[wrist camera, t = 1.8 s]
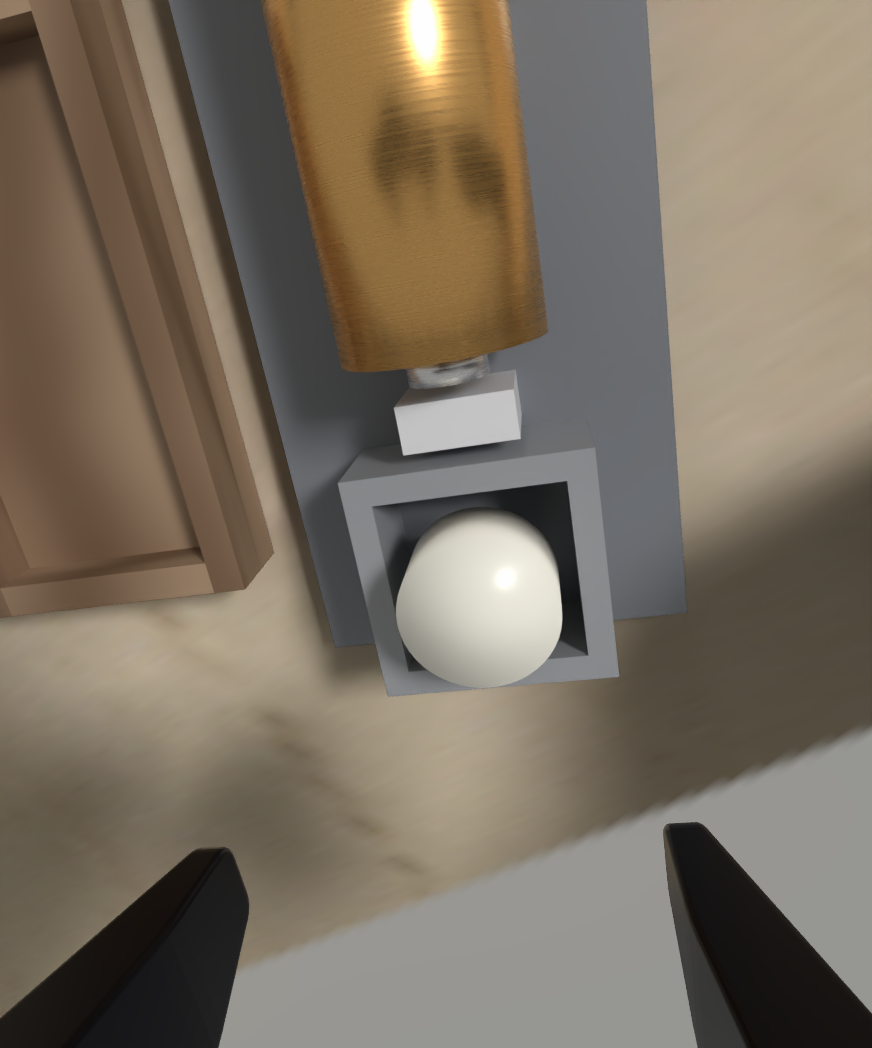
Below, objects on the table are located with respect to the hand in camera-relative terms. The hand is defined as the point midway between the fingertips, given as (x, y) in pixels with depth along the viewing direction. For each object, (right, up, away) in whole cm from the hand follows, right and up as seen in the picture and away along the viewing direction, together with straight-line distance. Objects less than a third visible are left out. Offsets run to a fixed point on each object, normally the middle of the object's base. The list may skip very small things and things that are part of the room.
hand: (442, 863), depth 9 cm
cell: (-1, +11, +4) cm, 12 cm away
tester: (0, +10, +8) cm, 13 cm away
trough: (-9, +9, +10) cm, 16 cm away
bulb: (+1, +3, +7) cm, 8 cm away
